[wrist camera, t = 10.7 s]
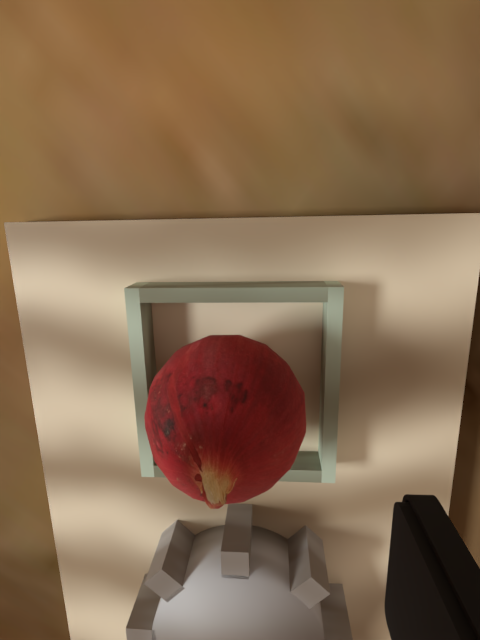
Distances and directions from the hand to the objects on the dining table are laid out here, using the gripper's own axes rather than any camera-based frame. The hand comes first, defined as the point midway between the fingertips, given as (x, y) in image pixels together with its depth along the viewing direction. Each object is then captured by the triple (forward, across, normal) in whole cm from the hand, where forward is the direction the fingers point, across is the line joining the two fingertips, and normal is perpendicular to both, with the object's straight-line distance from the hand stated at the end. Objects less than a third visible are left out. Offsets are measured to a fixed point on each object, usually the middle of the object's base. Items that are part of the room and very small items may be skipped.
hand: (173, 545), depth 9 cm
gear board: (+12, -1, +6) cm, 13 cm away
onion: (+10, -1, 0) cm, 10 cm away
